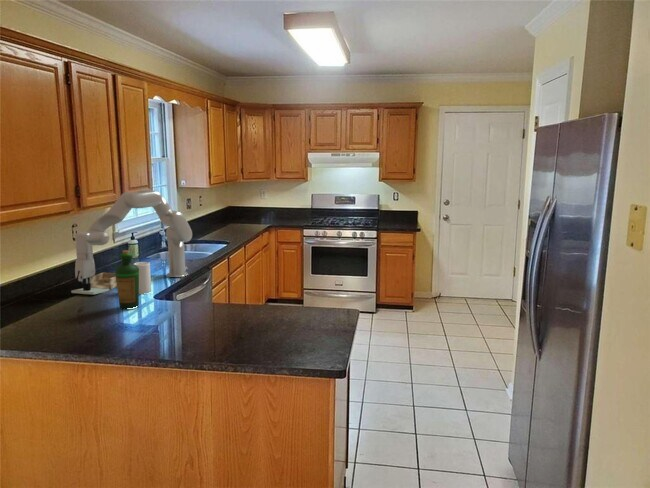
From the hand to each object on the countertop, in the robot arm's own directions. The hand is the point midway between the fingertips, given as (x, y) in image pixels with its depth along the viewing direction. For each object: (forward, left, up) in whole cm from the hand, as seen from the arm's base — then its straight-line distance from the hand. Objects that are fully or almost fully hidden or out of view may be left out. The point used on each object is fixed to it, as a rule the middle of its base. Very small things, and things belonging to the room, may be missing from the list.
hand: (87, 290), depth 240 cm
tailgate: (-9, 0, -2) cm, 9 cm away
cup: (-11, +25, -3) cm, 28 cm away
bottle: (+14, +33, -3) cm, 36 cm away
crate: (-16, 0, -3) cm, 16 cm away
